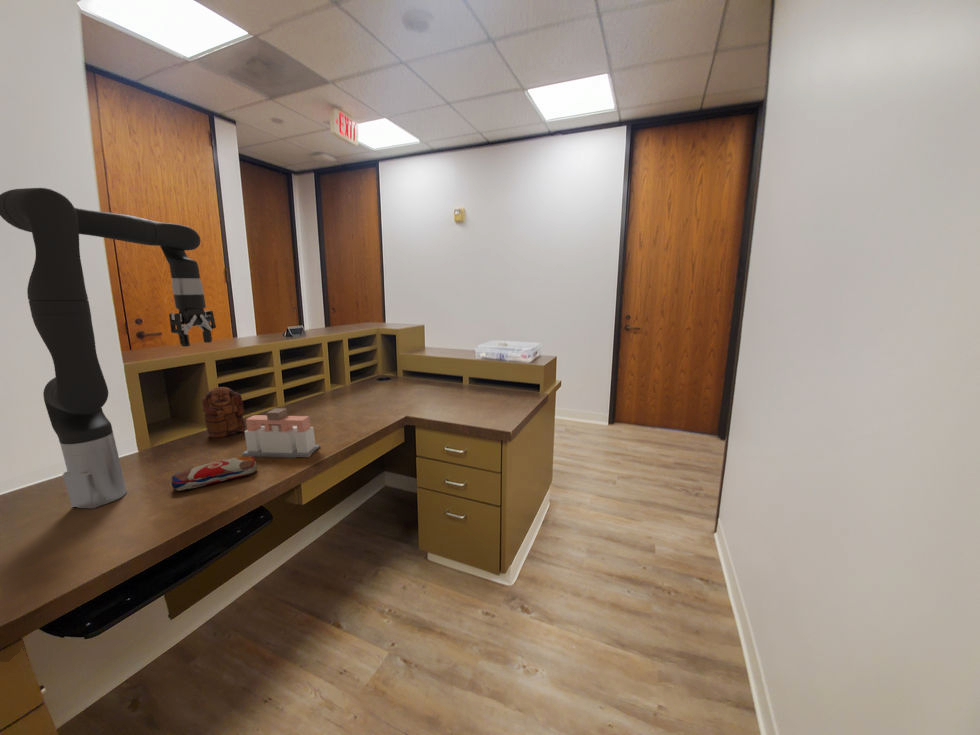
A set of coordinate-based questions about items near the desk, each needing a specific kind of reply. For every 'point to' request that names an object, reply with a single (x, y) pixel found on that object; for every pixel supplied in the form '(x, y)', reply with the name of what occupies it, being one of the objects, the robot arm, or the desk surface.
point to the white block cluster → (280, 442)
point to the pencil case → (213, 473)
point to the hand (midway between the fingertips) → (197, 344)
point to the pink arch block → (278, 421)
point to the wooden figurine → (223, 412)
